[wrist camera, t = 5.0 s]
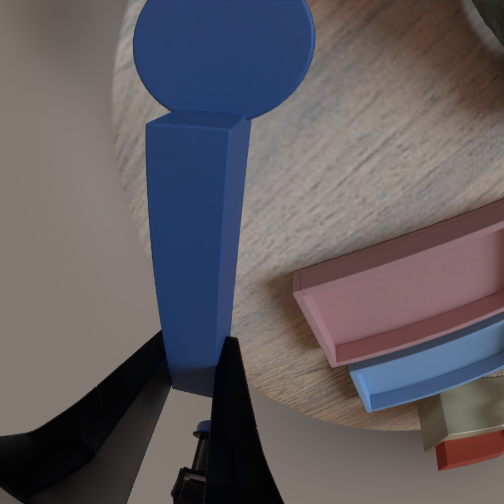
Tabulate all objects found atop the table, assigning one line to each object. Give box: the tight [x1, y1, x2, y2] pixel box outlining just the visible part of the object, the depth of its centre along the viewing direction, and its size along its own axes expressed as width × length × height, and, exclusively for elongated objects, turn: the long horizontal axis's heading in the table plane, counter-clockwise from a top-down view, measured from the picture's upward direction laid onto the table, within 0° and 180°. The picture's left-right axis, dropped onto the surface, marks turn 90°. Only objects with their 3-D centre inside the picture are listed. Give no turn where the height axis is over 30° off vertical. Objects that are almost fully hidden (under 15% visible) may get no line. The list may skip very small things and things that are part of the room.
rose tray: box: [292, 199, 504, 368], centre depth 16 cm, size 15×8×2 cm, turn 117°
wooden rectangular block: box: [417, 376, 504, 452], centre depth 21 cm, size 13×4×6 cm, turn 85°
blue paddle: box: [133, 0, 315, 398], centre depth 7 cm, size 12×4×2 cm, turn 174°
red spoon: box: [435, 429, 504, 471], centre depth 17 cm, size 12×4×2 cm, turn 85°
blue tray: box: [348, 311, 504, 413], centre depth 20 cm, size 15×8×2 cm, turn 117°
